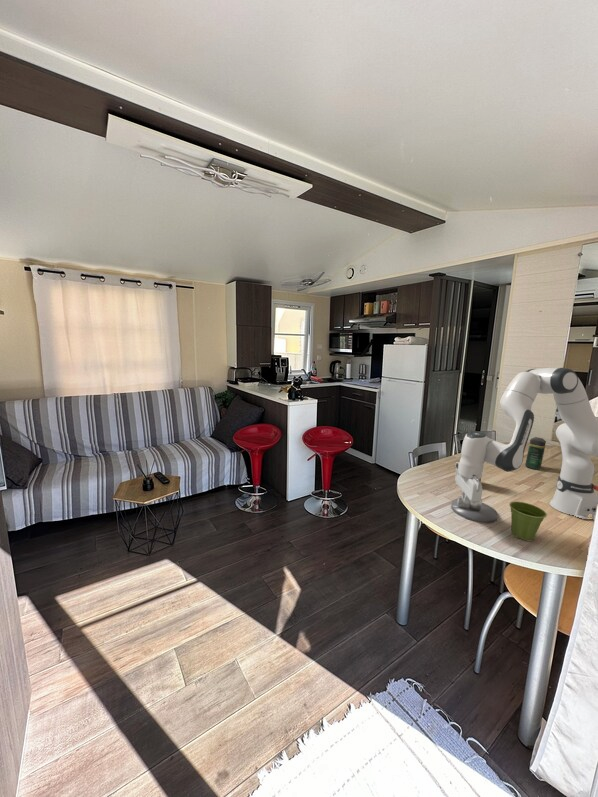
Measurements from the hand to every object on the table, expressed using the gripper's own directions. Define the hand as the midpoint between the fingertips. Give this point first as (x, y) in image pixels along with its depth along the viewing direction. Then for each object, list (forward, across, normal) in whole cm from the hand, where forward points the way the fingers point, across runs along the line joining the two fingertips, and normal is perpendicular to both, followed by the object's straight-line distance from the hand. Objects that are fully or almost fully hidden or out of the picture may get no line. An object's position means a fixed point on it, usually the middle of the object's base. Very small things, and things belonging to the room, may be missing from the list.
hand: (465, 501), depth 138 cm
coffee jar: (+6, +74, -65) cm, 99 cm away
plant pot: (+7, -10, -19) cm, 22 cm away
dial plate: (+7, +6, -6) cm, 11 cm away
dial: (+5, +6, -4) cm, 9 cm away
